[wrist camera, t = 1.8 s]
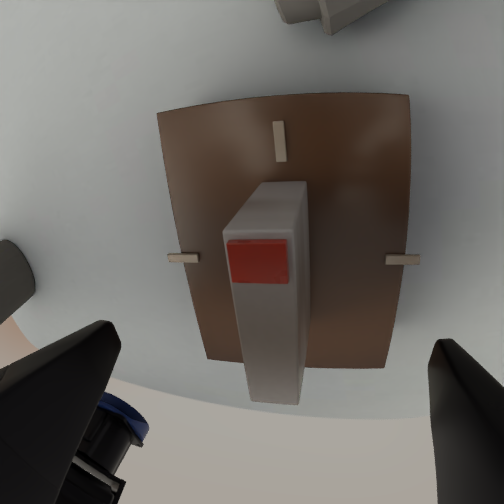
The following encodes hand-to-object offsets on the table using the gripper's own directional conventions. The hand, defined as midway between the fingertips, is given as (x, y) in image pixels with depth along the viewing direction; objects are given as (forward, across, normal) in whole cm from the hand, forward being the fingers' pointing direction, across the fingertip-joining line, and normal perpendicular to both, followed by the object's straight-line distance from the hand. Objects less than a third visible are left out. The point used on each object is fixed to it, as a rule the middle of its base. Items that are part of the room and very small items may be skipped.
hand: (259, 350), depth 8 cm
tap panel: (+8, 0, 0) cm, 8 cm away
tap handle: (+5, 0, 0) cm, 5 cm away
